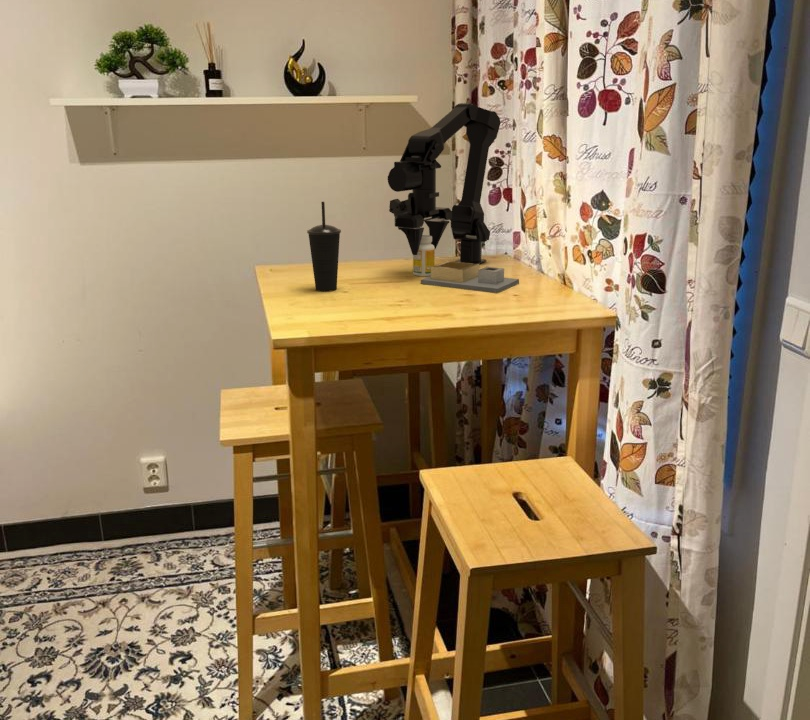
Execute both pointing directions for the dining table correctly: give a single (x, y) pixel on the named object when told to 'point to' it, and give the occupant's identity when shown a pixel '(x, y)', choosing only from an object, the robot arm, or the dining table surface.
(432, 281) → the fitting board
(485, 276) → the steel collar
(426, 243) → the supplement bottle
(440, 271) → the square wooden frame
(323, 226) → the drinking cup
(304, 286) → the dining table surface
